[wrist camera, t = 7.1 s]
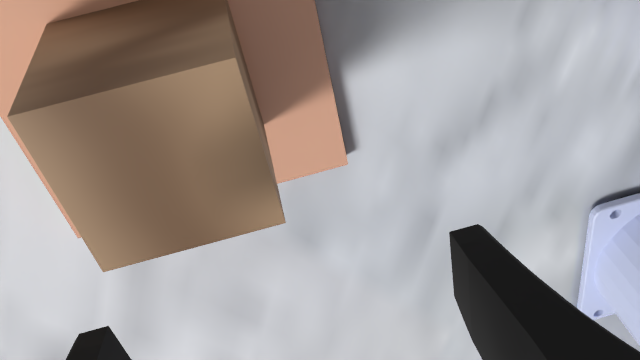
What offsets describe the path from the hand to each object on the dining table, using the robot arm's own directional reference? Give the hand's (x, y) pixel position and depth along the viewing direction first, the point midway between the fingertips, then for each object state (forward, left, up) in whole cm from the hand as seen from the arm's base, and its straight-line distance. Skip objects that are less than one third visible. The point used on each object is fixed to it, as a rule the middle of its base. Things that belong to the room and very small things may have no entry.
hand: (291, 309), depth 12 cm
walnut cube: (+2, -2, -9) cm, 9 cm away
